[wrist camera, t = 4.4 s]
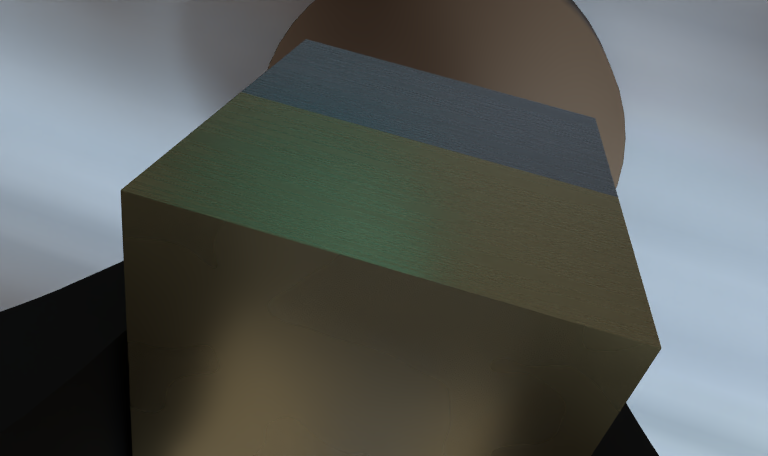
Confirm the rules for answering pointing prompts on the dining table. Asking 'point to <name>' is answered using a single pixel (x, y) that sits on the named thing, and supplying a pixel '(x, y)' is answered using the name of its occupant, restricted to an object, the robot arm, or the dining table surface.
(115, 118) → the dining table surface
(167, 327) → the block
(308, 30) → the stand
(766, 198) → the dining table surface
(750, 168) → the dining table surface
